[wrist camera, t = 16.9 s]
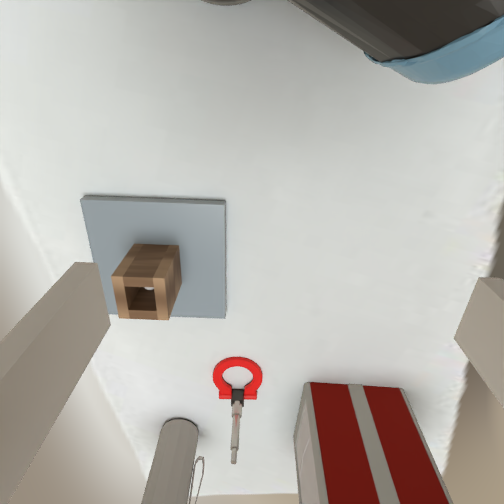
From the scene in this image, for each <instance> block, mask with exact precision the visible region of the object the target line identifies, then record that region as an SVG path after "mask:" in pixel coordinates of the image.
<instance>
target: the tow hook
mask: <svg viewBox="0 0 504 504" xmlns="http://www.w3.org/2000/svg"><path fill="white" fill-rule="evenodd" d="M234 366H240V367H244V368H247V369H248V370H250V371H251V373H252V374H253V380H252V381H251V383H249V384H248V385H246V386H245V388H244V390H232V387H231V386H230V385H228V384H227V383H226V382H225V381H224V380H223V378H222V374H223V372H224V371H225V370H226V369H228V368H230V367H234ZM213 381H214V383H215V385H216V387H217V388H218V389H219V390H220V391H219V399H231V406H232V417H233V423H232V437H231V450H232V455H231V463H232V464H236V459H237V451H238V448H239V429H240V418H241V416H242V407H244V399H253V400H256V399H257V391H256V390H257V389H258V388H259V387H260V385H261V383H262V371H261V369H260V367H259V366H258V365H257V364H256V363H255V362H254V361H252V360H250V359H247V358H243V357H231V358H227V359H224V360H222V361H221V362H220V363H218V364H217V366H216V367H215V369H214V372H213Z"/></svg>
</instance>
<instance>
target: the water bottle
mask: <svg viewBox="0 0 504 504" xmlns="http://www.w3.org/2000/svg"><path fill="white" fill-rule="evenodd" d="M197 441H198V430H197V428H196V426H195V425H193V424H192V423H191V422H189V421H186V420H183V419H173V420H171V421H169V422H167V423H165V424H164V426H163V428H162V429H161V433H160V437H159V440H158V444H157V448H156V451H155V455H154V459H153V462H152V466H151V470H150V473H149V477H148V481H147V485H146V488H145V492H144V496H143V500H142V503H141V504H187V501H188V495H189V489H190V483H191V477H192V471H193V477H192V484H191V492H190V499H189V504H190V501H191V494H192V487H193V479H194V472H195V465H196V463H197V462H198V460H202V461H203V472H202V477H203V473H204V457H201V456H199V457H198V458H197V460H196V462H195V465H194V459H195V453H196V447H197ZM193 465H194V469H193ZM201 481H202V478H201ZM200 486H201V482H200ZM200 486H199V489H200ZM198 493H199V490H198ZM197 497H198V494H197ZM196 499H197V498H196ZM196 501H197V500H196ZM195 504H196V502H195Z"/></svg>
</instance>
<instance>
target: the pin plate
mask: <svg viewBox="0 0 504 504" xmlns="http://www.w3.org/2000/svg"><path fill="white" fill-rule="evenodd" d="M80 202H81V207H82V212H83V216H84V221H85V225H86V230H87V234H88V239H89V243H90V248H91V252H92V257H93V261H94V263H98V268H99V273H100V277H101V282H102V287H103V291H104V296H105V301H106V305H107V310H108V314H118V311H117V305H116V300H115V295H114V290H113V285H112V280H111V275H112V274H113V273H114V271H115V270H116V268H117V267H118V265H119V264H120V263H121V261H122V260H123V258H124V257H125V256H126V254H127V253H128V251H129V250H130V249H131V247H132V246H133V244H155V245H179V250H180V264H181V277H182V285H181V287H180V290H179V293H178V296H177V298H176V301H175V304H174V307H173V310H172V312H171V315H170V316H171V317H197V318H223V319H225V317H226V210H225V201H218V200H191V199H164V198H137V197H110V196H84V197H83V198H81V199H80ZM144 288H145V289H147V290H152V289H154V287H144Z"/></svg>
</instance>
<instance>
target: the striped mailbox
mask: <svg viewBox="0 0 504 504" xmlns="http://www.w3.org/2000/svg"><path fill="white" fill-rule="evenodd" d="M293 437H294V448H295V460H296V471H297V482H298V493H299V504H453V502H452V499H451V497H450V495H449V493H448V490H447V488H446V486H445V483H444V481H443V479H442V477H441V474H440V472H439V470H438V467H437V465H436V463H435V461H434V458H433V456H432V454H431V452H430V449H429V447H428V445H427V443H426V440H425V438H424V436H423V433H422V431H421V429H420V427H419V424H418V422H417V420H416V418H415V415H414V413H413V411H412V408H411V406H410V404H409V402H408V399H407V397H406V395H405V393H404V390H403V389H402V388H400V389H399V388H392V387H377V386H362V385H359V384H348V385H347V384H332V383H317V382H311V383H310V382H307V383H305V384H304V388H303V393H302V398H301V402H300V407H299V412H298V417H297V422H296V426H295V431H294V436H293Z"/></svg>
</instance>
